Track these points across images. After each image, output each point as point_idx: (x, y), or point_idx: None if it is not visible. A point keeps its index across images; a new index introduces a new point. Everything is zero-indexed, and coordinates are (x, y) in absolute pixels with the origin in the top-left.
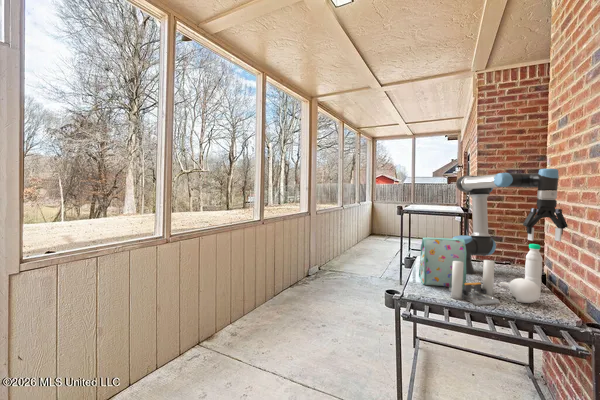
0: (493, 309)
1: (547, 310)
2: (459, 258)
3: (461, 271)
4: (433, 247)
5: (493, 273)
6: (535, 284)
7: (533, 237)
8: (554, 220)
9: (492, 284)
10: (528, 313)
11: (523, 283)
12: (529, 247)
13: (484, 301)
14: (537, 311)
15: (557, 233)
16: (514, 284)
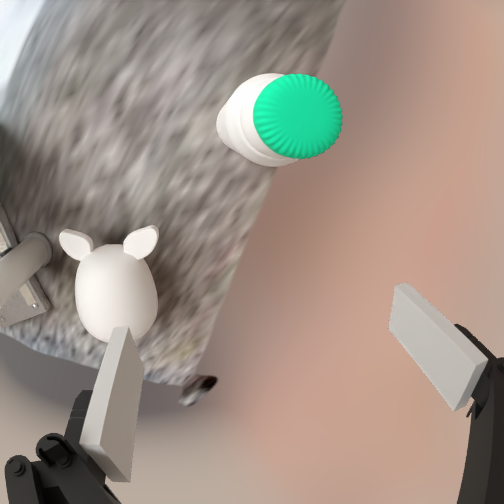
0: (35, 341)
1: (160, 328)
2: None
3: None
4: None
5: (8, 300)
6: (133, 337)
7: (139, 392)
8: (466, 496)
9: (25, 282)
10: (102, 352)
11: (94, 336)
12: (253, 111)
13: (17, 321)
14: None
15: (430, 352)
16: (77, 310)
